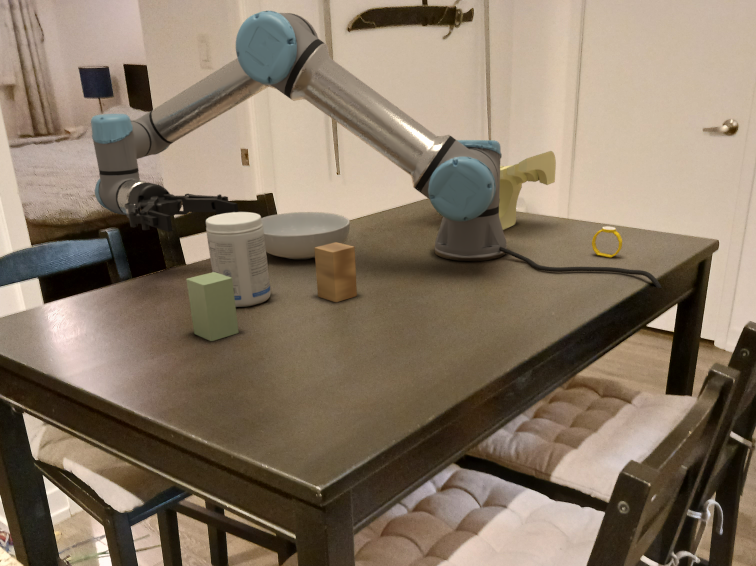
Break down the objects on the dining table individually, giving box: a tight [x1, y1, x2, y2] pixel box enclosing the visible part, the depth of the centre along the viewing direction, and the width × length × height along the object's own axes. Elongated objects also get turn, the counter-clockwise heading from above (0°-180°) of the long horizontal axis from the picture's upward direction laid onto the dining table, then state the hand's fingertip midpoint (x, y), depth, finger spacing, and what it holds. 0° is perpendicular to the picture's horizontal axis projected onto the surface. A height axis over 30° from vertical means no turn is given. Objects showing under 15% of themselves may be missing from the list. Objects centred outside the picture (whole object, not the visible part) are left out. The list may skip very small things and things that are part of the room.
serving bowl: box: [261, 211, 351, 260], centre depth 162 cm, size 21×21×7 cm
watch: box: [591, 225, 623, 259], centre depth 156 cm, size 6×3×6 cm, turn 59°
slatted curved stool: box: [499, 150, 557, 231], centre depth 181 cm, size 30×16×18 cm, turn 57°
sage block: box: [185, 272, 239, 342], centre depth 118 cm, size 5×5×9 cm
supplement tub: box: [205, 211, 272, 308], centre depth 132 cm, size 10×10×15 cm
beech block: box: [314, 242, 358, 303], centre depth 134 cm, size 5×5×9 cm
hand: (204, 217), depth 136 cm, fingers open, 13 cm apart
